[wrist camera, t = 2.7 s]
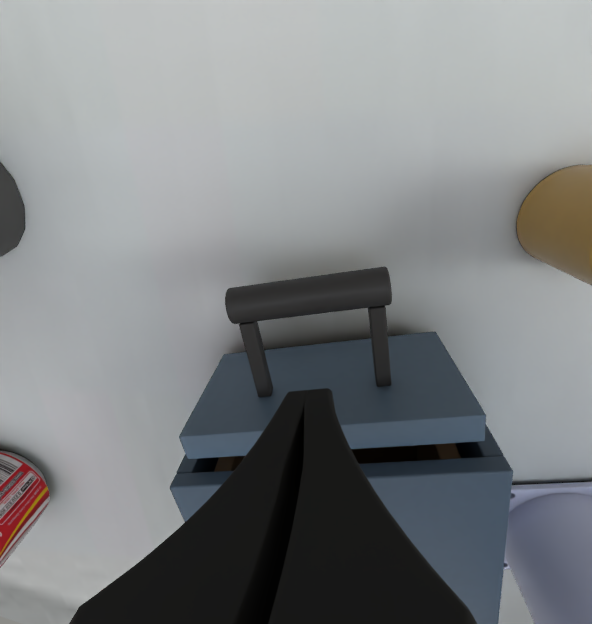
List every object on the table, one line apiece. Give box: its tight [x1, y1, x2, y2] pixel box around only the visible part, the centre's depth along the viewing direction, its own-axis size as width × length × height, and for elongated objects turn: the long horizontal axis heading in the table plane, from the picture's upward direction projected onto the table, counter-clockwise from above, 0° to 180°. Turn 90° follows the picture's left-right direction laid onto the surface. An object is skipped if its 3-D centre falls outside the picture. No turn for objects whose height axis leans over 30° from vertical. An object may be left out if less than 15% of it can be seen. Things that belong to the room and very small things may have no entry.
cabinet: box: [170, 424, 513, 624], centre depth 19 cm, size 13×12×8 cm
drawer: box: [179, 267, 486, 472], centre depth 17 cm, size 17×11×6 cm, turn 10°
